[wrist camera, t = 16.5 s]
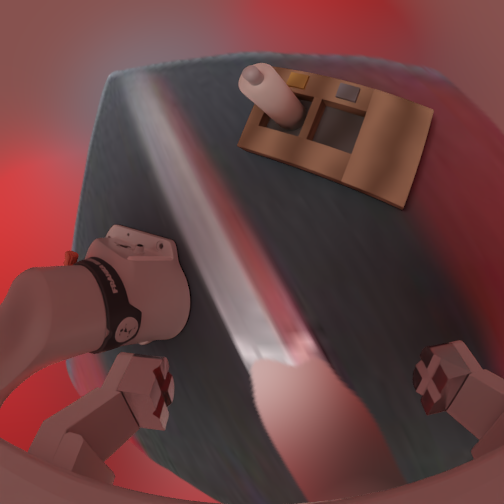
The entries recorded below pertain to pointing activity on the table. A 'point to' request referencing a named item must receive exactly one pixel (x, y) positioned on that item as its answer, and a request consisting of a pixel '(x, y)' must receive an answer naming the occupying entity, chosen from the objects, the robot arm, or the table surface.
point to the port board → (346, 135)
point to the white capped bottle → (272, 96)
